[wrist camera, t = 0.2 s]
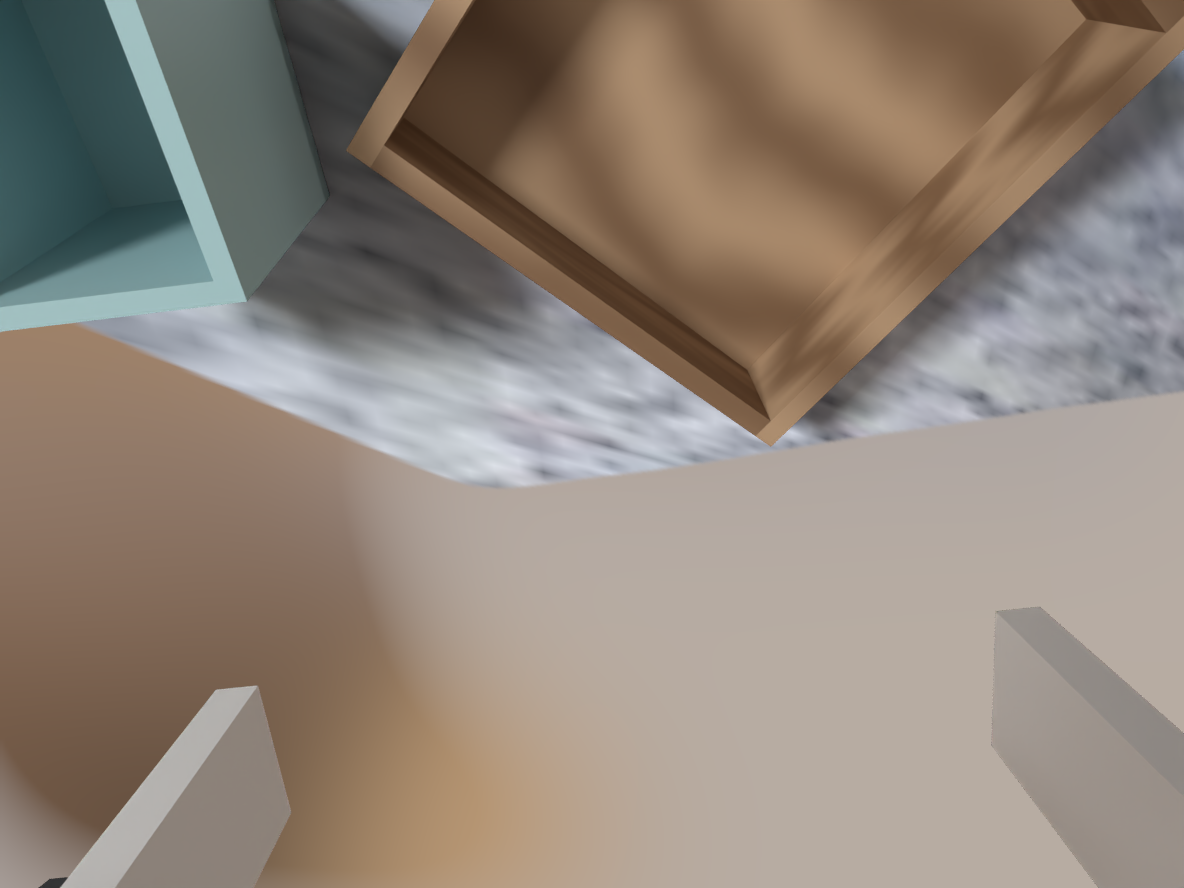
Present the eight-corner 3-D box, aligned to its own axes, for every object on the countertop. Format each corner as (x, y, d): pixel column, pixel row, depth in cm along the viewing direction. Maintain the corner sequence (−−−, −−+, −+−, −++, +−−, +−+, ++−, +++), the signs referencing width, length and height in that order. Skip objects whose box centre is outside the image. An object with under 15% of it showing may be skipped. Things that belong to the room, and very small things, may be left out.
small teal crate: (-4, -34, 30) (-272, -15, 20) (254, -67, 30) (111, -64, 20) (110, 223, 36) (-57, 338, 26) (329, 195, 36) (246, 301, 26)
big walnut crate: (724, -470, 25) (769, -568, 20) (1106, 11, 33) (1206, 27, 28) (374, 117, 34) (345, 150, 29) (743, 384, 42) (770, 446, 37)
